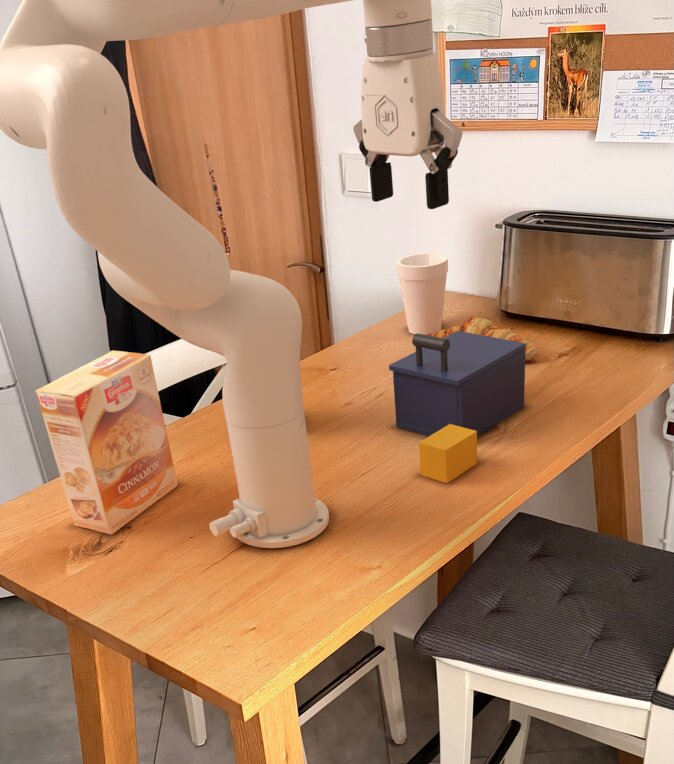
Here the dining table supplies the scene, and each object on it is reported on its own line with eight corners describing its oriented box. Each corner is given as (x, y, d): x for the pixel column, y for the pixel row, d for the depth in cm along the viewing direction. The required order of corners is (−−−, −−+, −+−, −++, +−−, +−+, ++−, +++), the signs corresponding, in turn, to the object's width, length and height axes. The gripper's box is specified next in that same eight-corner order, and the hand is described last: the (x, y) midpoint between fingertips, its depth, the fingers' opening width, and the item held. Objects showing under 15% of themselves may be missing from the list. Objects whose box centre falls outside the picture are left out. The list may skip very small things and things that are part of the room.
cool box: (462, 445, 132) (461, 384, 127) (396, 426, 140) (392, 368, 135) (524, 407, 142) (525, 348, 136) (458, 391, 149) (457, 335, 144)
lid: (458, 386, 127) (457, 348, 124) (389, 370, 134) (386, 334, 131) (525, 348, 136) (526, 312, 133) (457, 335, 144) (457, 301, 141)
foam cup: (397, 338, 173) (393, 268, 166) (402, 322, 181) (399, 254, 173) (447, 336, 172) (446, 265, 164) (450, 320, 179) (449, 252, 172)
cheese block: (447, 483, 123) (446, 450, 120) (420, 475, 126) (418, 442, 123) (477, 463, 127) (477, 430, 124) (450, 456, 130) (450, 423, 127)
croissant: (542, 375, 160) (552, 328, 159) (526, 367, 151) (536, 318, 150) (432, 361, 170) (440, 317, 168) (411, 353, 161) (419, 306, 159)
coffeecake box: (112, 536, 120) (74, 396, 109) (72, 526, 123) (31, 390, 112) (180, 485, 130) (152, 353, 119) (142, 478, 134) (111, 348, 123)
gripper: (325, 49, 107) (341, 203, 117) (431, 46, 95) (439, 217, 105) (372, 39, 110) (384, 189, 120) (479, 35, 99) (482, 202, 109)
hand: (409, 202), depth 113 cm, fingers open, 9 cm apart
